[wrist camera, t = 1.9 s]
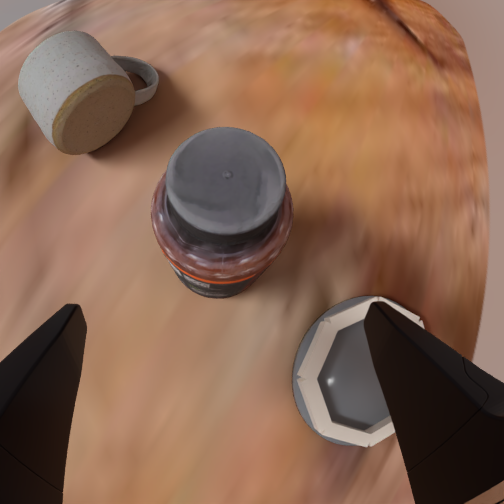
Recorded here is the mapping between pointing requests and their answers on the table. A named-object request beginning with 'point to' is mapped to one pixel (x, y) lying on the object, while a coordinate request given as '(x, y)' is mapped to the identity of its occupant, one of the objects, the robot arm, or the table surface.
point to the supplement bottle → (222, 210)
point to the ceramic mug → (81, 91)
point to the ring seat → (342, 376)
